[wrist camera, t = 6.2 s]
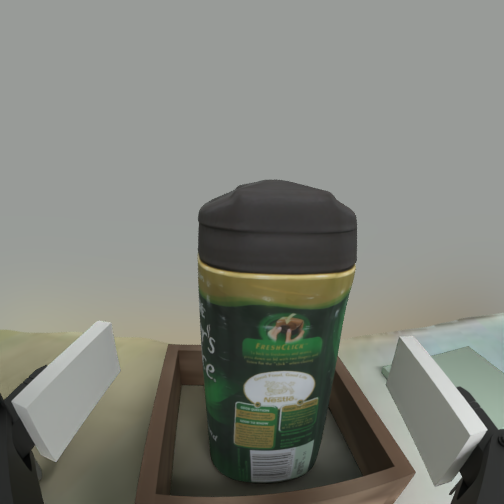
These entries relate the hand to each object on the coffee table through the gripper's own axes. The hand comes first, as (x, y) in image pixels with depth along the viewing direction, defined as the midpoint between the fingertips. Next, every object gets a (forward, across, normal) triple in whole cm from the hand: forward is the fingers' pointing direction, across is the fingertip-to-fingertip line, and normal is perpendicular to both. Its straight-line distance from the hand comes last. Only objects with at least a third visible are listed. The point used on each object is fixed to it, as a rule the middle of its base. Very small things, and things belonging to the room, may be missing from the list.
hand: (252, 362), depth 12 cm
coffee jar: (+5, +1, -11) cm, 12 cm away
